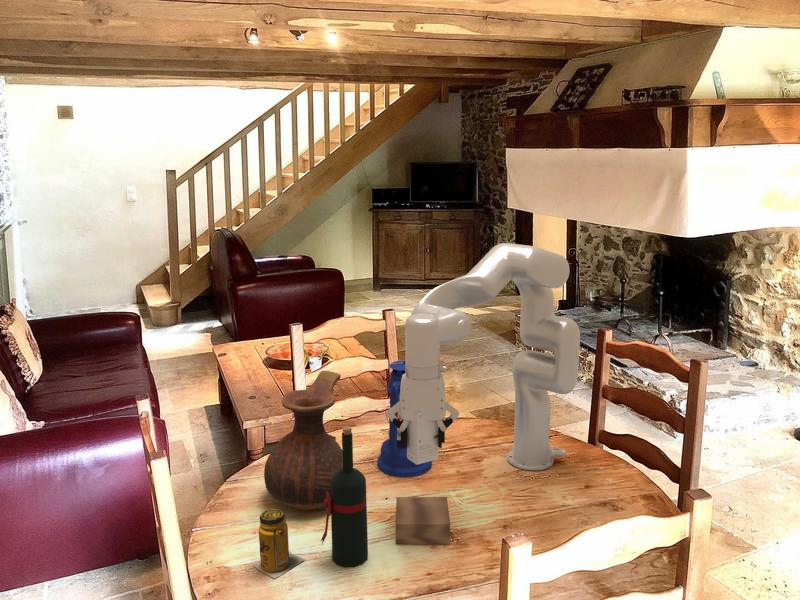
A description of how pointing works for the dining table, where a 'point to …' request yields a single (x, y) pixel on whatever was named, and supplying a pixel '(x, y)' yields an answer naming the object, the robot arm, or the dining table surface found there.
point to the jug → (305, 449)
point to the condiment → (275, 544)
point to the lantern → (397, 436)
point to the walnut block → (422, 520)
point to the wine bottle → (347, 510)
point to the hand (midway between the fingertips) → (422, 445)
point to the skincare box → (422, 439)
